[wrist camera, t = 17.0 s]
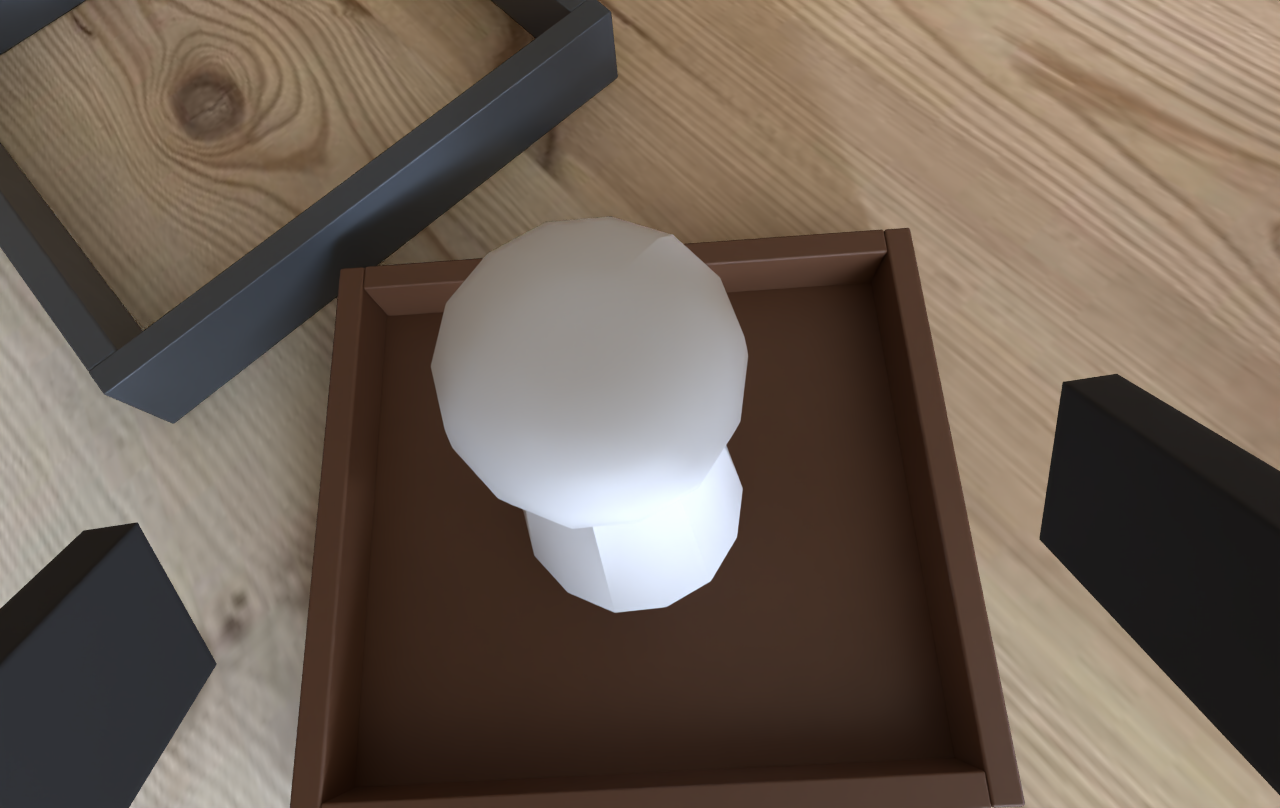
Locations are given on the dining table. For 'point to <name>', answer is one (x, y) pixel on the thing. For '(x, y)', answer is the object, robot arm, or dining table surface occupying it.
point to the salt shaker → (601, 404)
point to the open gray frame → (299, 217)
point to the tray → (685, 630)
